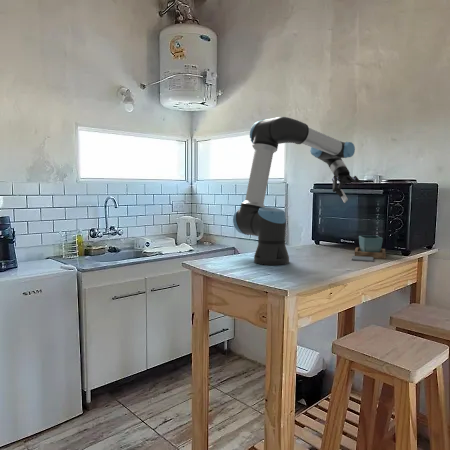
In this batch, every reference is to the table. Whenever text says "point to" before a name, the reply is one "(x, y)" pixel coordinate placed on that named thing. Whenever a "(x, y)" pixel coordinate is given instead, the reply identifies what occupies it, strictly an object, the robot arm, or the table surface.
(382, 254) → the wooden tray
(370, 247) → the flower pot
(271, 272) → the table surface
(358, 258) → the mat
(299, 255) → the table surface
